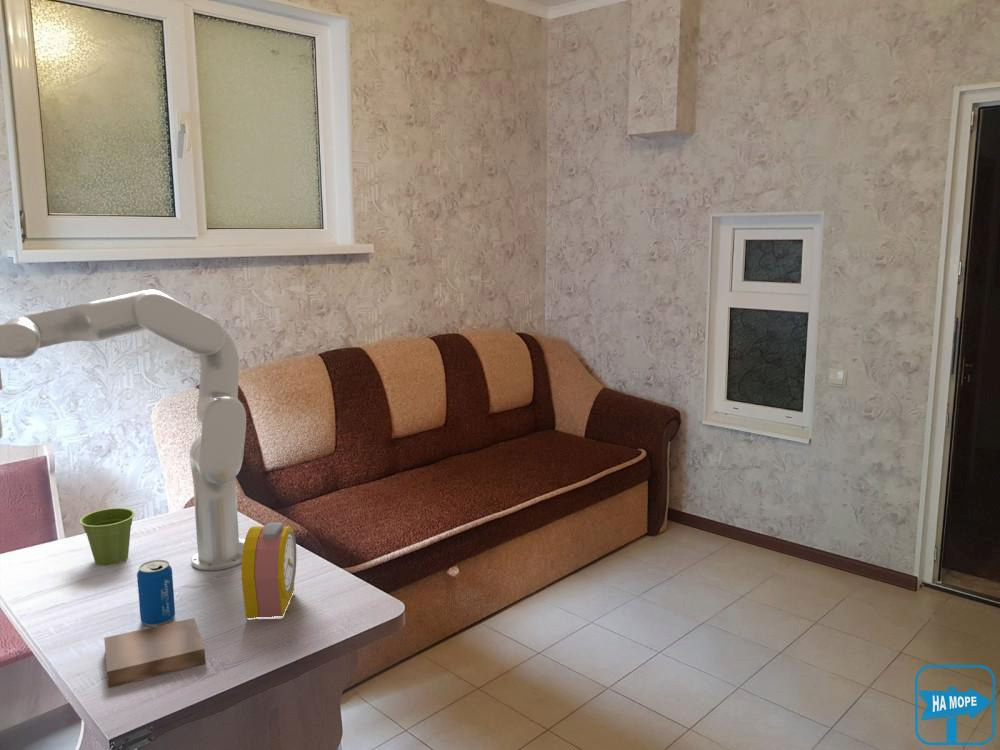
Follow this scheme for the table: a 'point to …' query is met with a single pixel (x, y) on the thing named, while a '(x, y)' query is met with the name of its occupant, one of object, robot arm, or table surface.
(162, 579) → the beverage can
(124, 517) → the plant pot
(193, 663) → the walnut board
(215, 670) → the table surface
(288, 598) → the alarm clock
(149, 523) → the table surface
